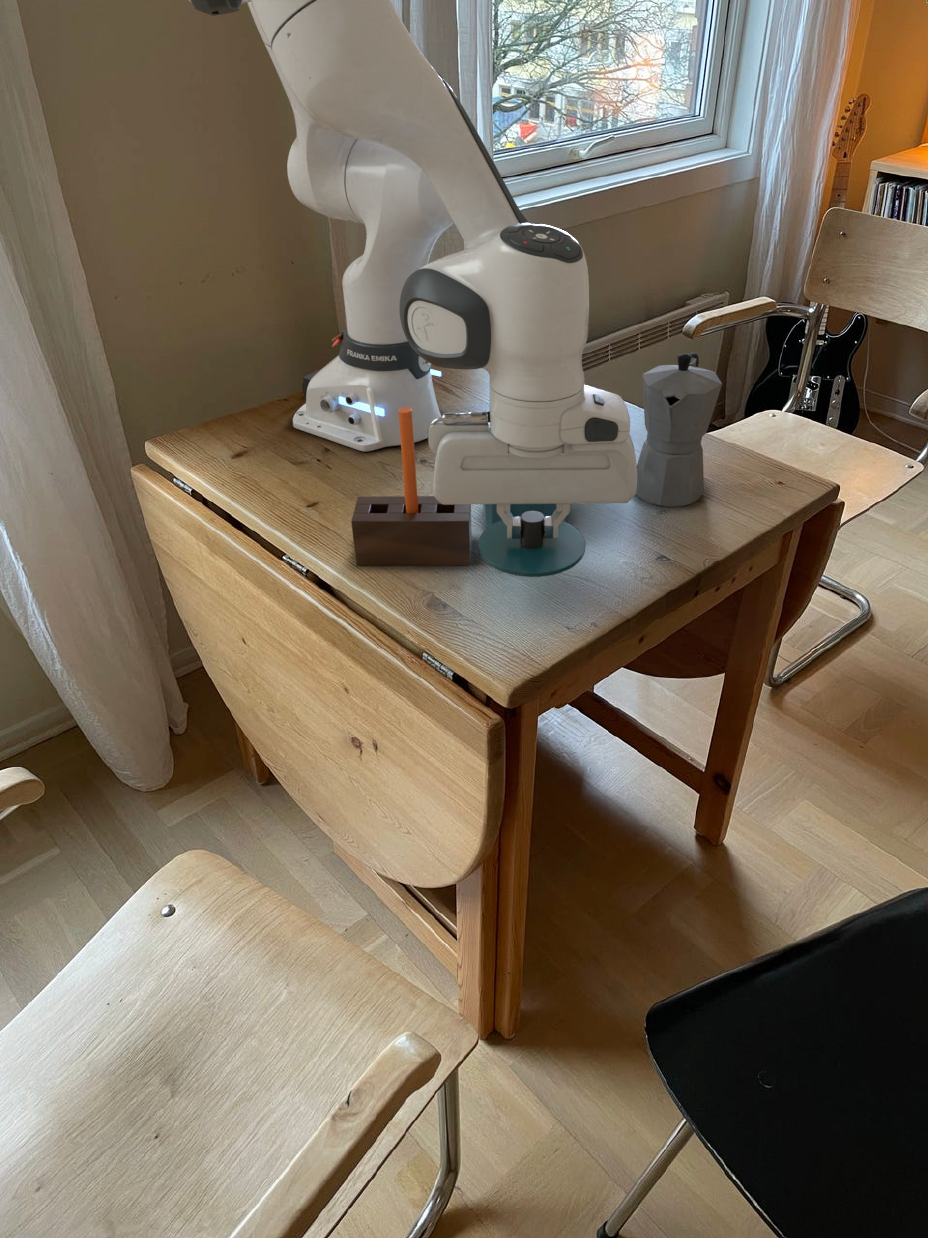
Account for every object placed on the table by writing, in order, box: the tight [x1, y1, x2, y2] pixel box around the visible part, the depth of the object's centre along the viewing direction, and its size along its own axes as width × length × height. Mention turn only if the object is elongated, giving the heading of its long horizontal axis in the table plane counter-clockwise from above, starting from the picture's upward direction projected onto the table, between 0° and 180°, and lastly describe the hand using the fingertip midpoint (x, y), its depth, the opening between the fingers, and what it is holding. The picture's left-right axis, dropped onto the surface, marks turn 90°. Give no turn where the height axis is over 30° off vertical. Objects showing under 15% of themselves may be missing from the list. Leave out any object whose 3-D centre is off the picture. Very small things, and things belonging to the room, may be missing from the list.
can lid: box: [478, 511, 586, 578], centre depth 93 cm, size 11×11×4 cm
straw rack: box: [351, 495, 473, 567], centre depth 103 cm, size 6×13×6 cm, turn 88°
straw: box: [399, 407, 419, 513], centre depth 99 cm, size 1×1×18 cm
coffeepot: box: [635, 352, 723, 508], centre depth 110 cm, size 15×9×18 cm, turn 159°
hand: (532, 535), depth 93 cm, fingers closed on can lid, 2 cm apart
